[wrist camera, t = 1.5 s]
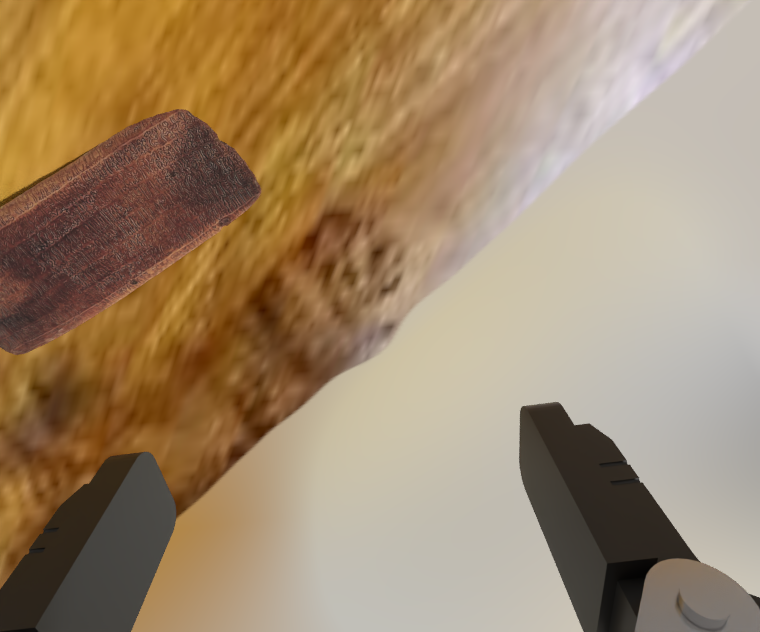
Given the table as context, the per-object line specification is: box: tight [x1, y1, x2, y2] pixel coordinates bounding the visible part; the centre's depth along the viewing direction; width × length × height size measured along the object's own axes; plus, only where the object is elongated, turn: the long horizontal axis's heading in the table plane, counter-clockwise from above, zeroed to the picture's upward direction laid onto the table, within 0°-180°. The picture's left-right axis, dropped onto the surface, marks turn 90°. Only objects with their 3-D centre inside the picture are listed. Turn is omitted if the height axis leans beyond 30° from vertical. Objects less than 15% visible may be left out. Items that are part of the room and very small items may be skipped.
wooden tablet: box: [0, 109, 261, 355], centre depth 35 cm, size 26×2×10 cm
